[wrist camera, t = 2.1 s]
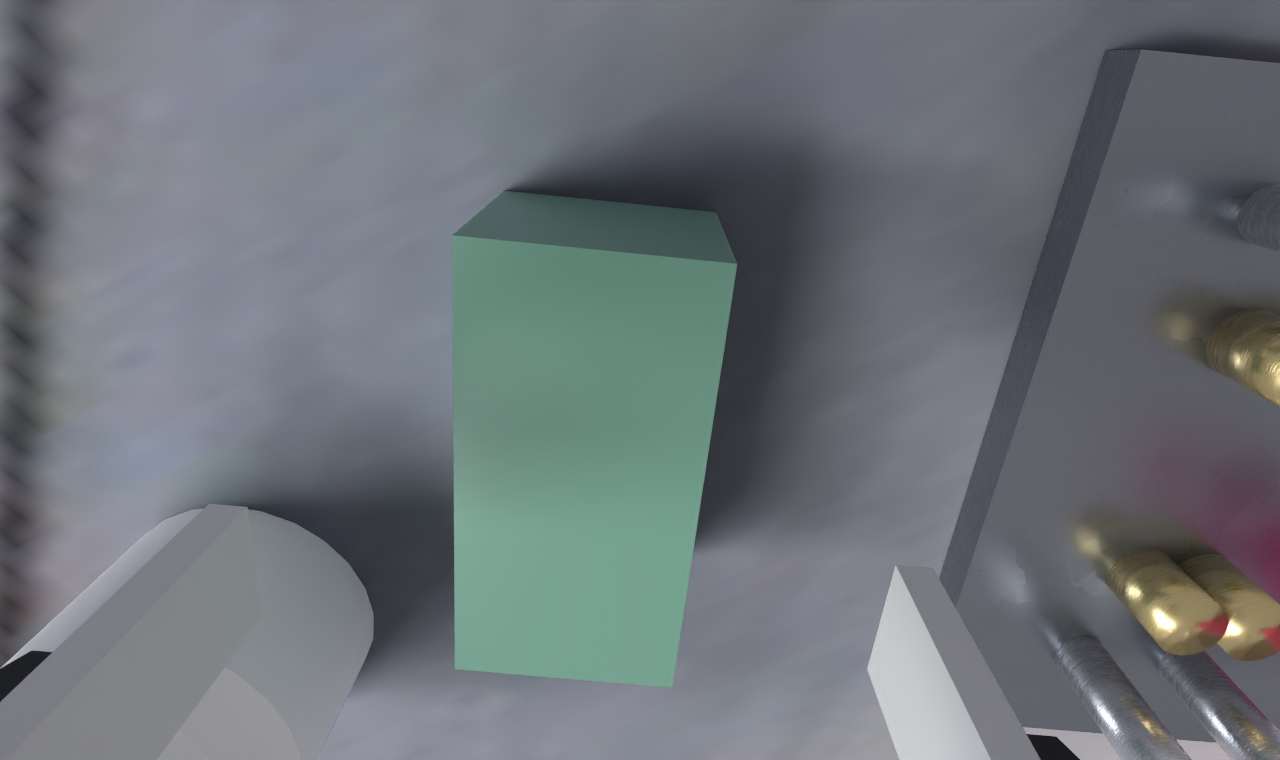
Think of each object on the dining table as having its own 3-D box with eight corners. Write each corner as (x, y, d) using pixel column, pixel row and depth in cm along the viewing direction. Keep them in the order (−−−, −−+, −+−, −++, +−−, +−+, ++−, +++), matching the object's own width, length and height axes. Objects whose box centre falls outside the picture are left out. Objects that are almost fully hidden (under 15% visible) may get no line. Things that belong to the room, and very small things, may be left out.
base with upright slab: (71, 568, 26) (-351, 936, 15) (265, 465, 24) (-56, 799, 13) (239, 730, 29) (-10, 1133, 18) (422, 650, 27) (267, 1044, 16)
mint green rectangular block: (505, 189, 21) (452, 234, 15) (715, 210, 21) (737, 263, 15) (497, 538, 26) (454, 669, 20) (668, 554, 26) (672, 687, 20)
